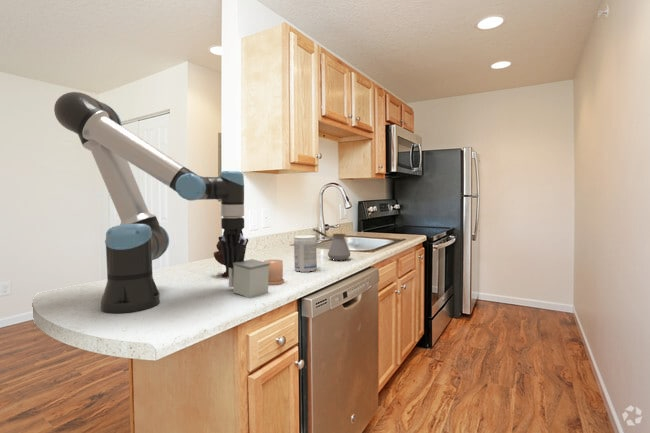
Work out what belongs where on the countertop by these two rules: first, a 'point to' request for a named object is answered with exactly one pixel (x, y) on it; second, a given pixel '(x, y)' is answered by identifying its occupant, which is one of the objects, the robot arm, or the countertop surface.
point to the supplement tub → (305, 253)
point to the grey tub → (250, 277)
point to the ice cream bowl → (220, 259)
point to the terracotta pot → (275, 272)
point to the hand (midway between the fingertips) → (233, 286)
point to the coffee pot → (337, 247)
